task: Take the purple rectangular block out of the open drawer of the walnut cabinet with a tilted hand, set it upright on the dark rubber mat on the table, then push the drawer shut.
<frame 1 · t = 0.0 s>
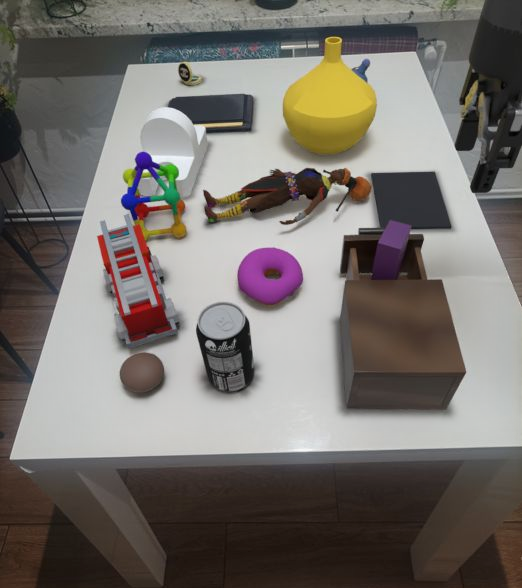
hand: (470, 169, 56), 21 cm above the table, tool pointing down, fingers open, 8 cm apart
drawer: (383, 273, 70), point 4 cm above the table, slide at 9.0 cm, touching purple rectangular block
donut: (269, 285, 76), on the table
figurine: (288, 207, 87), on the table
beverage can: (231, 374, 66), on the table
toy fire truck: (143, 305, 75), on the table
cabinet: (389, 362, 66), on the table
model: (340, 103, 108), on the table
model 2: (161, 226, 86), on the table
wallet: (209, 116, 108), on the table
eyeshadow: (192, 82, 118), on the table
egg: (146, 380, 66), on the table
purple rectangular block: (381, 291, 71), point 2 cm above the table, touching drawer
vase: (326, 142, 99), on the table
bracket: (175, 168, 96), on the table
mat: (408, 200, 87), on the table
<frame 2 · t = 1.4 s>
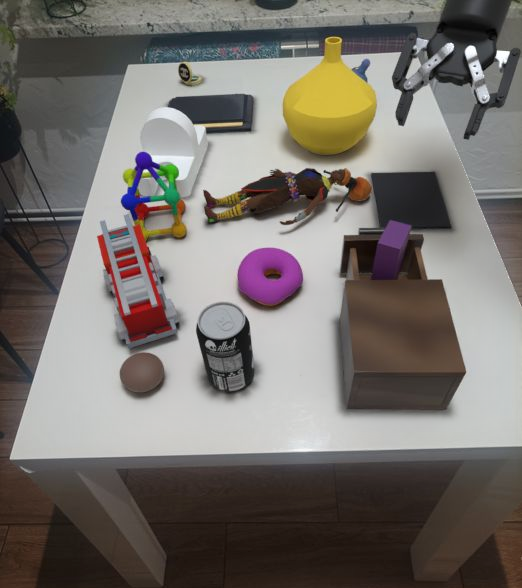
hand: (432, 130, 61), 21 cm above the table, tool tilted 45°, fingers open, 8 cm apart
nothing on the table moved.
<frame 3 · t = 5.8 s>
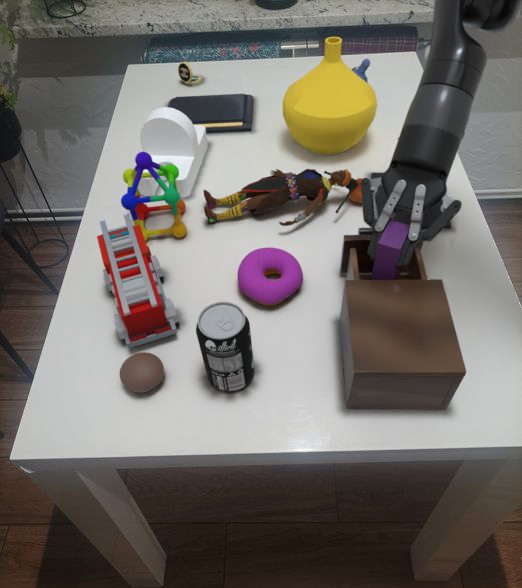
hand: (385, 264, 64), 10 cm above the table, tool tilted 45°, fingers closed on purple rectangular block, 3 cm apart
purple rectangular block: (382, 290, 71), point 2 cm above the table, touching drawer, gripper
everything else where it was.
when the fingers open (8 cm above the table, at t = 15.5 s): purple rectangular block stays where it is, resting on mat.
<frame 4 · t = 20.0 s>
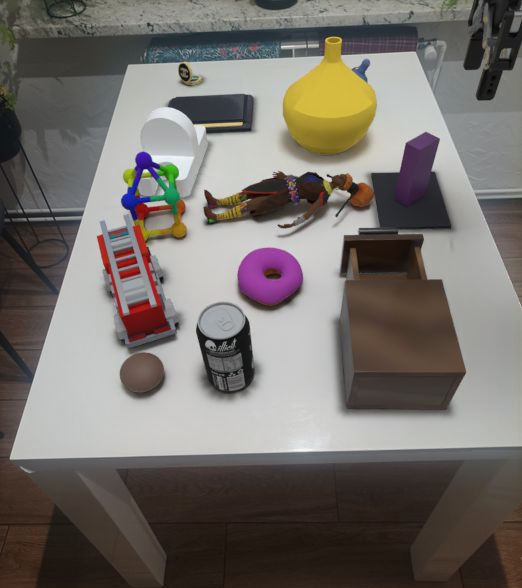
hand: (477, 83, 63), 24 cm above the table, tool pointing down, fingers open, 8 cm apart
drawer: (383, 273, 70), point 4 cm above the table, slide at 9.0 cm
purple rectangular block: (409, 197, 86), resting on mat
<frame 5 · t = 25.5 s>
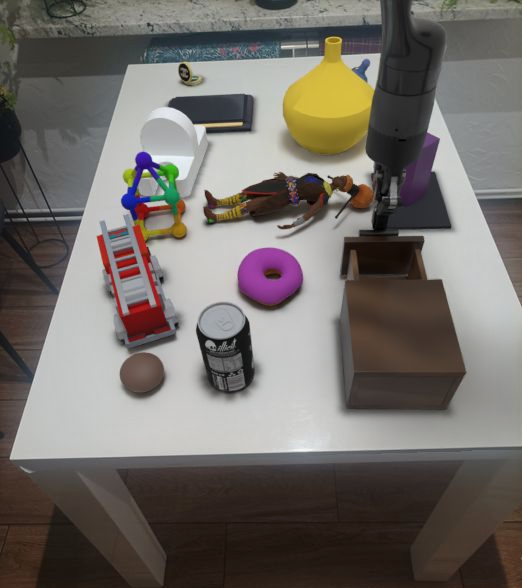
hand: (378, 226, 74), 6 cm above the table, tool pointing down, fingers closed
drawer: (383, 275, 70), point 4 cm above the table, slide at 8.6 cm, touching gripper
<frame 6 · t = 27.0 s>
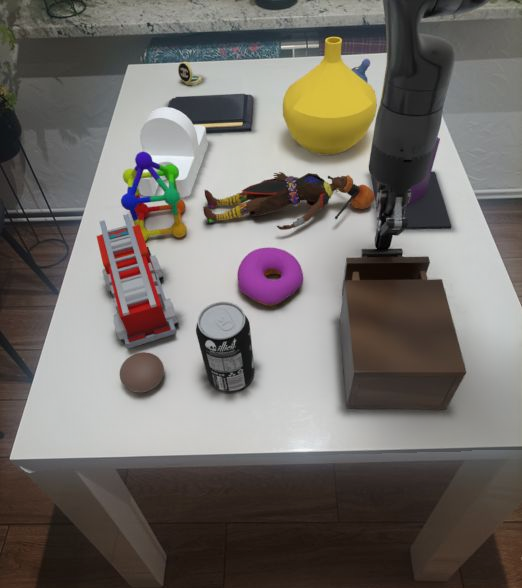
hand: (381, 245, 72), 6 cm above the table, tool pointing down, fingers closed
drawer: (387, 297, 67), point 4 cm above the table, slide at 4.2 cm, touching gripper
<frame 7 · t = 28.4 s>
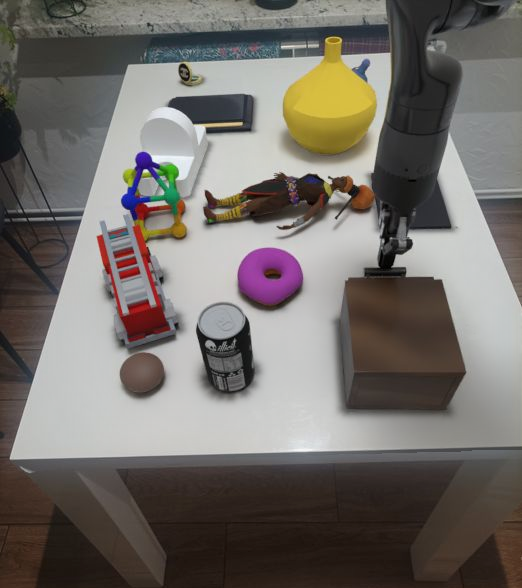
hand: (384, 263, 69), 6 cm above the table, tool pointing down, fingers closed
drawer: (390, 319, 65), point 4 cm above the table, slide at 0.3 cm, touching gripper
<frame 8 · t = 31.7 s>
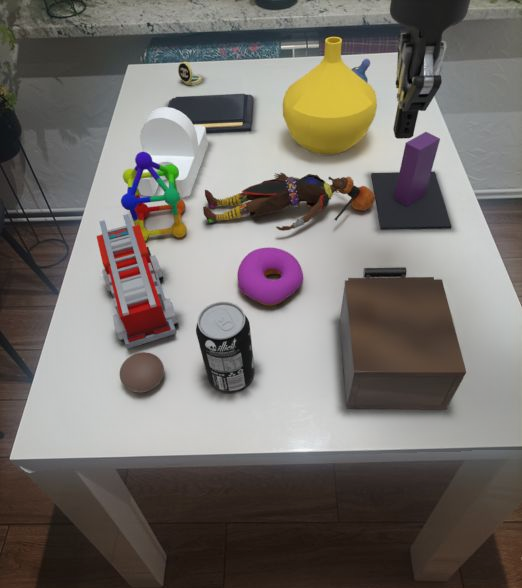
hand: (402, 135, 58), 23 cm above the table, tool pointing down, fingers closed
drawer: (390, 319, 65), point 4 cm above the table, slide at 0.2 cm
at the end: purple rectangular block inside the target area on the mat (0.1 cm from its centre), point 0.5 cm above the mat's base; purple rectangular block tilted 0°; drawer slide at 0.2 cm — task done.
